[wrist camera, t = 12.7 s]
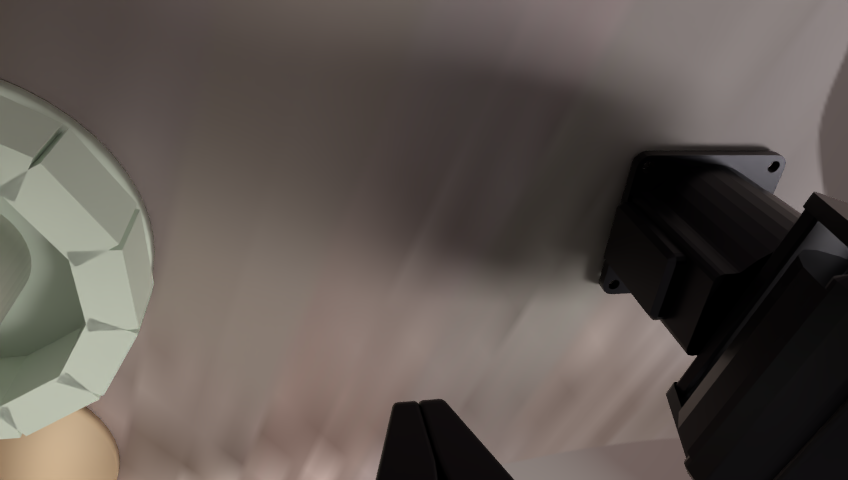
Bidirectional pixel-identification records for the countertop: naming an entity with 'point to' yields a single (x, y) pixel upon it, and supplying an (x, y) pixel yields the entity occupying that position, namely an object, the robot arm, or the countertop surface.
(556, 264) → the countertop surface
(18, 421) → the bowl
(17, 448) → the cork mat
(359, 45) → the countertop surface
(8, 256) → the white dome-topped cylinder
